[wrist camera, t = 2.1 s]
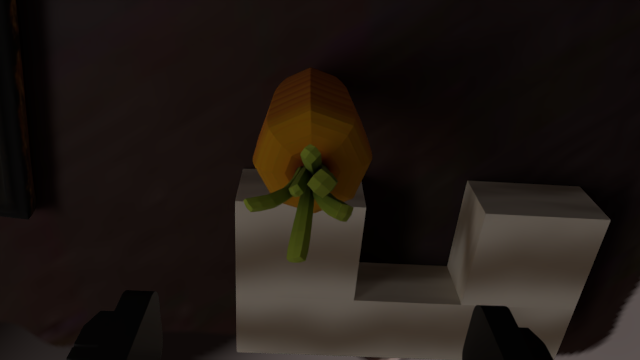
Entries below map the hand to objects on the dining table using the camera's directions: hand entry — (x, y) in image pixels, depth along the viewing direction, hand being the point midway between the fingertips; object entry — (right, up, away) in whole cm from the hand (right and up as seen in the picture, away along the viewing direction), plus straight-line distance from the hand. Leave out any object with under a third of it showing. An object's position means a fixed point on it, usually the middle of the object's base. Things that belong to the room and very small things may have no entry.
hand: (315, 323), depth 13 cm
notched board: (+6, -1, +23) cm, 24 cm away
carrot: (0, +9, +17) cm, 20 cm away
